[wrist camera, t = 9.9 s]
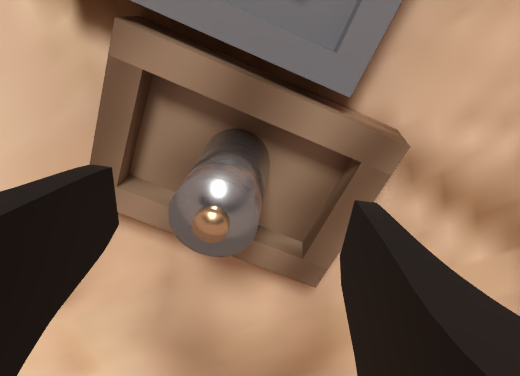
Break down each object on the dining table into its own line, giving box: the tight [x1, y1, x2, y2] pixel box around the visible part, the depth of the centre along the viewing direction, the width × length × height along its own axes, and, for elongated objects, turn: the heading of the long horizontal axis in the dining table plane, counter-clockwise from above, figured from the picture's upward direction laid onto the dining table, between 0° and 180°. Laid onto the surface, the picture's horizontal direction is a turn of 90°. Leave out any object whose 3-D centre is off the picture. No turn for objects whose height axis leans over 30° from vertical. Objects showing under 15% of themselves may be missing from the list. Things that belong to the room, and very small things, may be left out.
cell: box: [168, 128, 270, 257], centre depth 16 cm, size 4×4×6 cm
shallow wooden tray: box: [90, 16, 410, 288], centre depth 19 cm, size 14×10×2 cm
